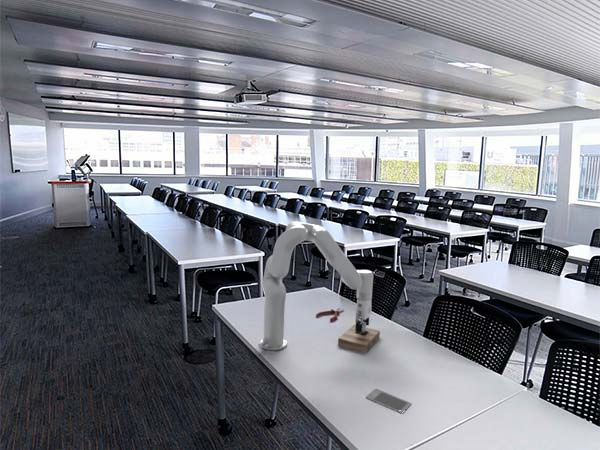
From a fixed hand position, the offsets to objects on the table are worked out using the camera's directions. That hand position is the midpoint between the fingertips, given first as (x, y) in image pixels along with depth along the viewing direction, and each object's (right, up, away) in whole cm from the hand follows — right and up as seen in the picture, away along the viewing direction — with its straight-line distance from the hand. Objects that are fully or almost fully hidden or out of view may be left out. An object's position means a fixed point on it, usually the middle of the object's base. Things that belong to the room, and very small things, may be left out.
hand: (362, 328), depth 203 cm
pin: (0, -6, +1) cm, 6 cm away
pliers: (-12, -1, +30) cm, 32 cm away
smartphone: (+2, -15, -51) cm, 53 cm away
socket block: (-2, -6, -2) cm, 7 cm away
